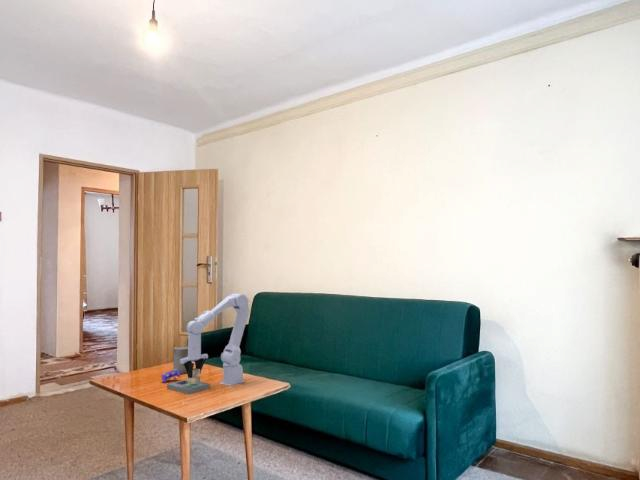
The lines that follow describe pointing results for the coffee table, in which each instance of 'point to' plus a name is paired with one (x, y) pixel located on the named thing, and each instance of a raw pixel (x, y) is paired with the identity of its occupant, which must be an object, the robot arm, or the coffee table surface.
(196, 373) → the birch block
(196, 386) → the pocket board
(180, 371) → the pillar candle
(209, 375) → the coffee table surface
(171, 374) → the game controller
